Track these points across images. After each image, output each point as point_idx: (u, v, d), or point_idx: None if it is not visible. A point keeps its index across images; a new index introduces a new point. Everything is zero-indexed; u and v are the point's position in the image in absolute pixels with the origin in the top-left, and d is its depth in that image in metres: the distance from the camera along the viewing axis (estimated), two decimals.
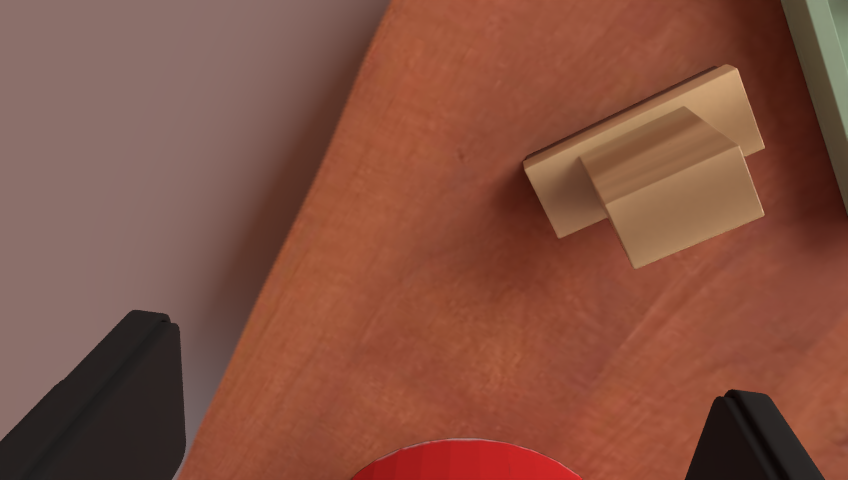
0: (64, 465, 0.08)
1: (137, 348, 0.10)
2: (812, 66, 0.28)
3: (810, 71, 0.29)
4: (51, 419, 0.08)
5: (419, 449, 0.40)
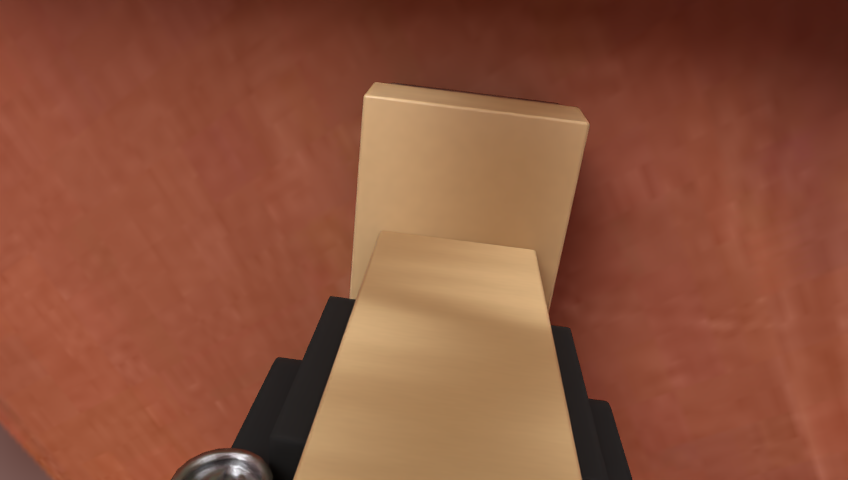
0: None
1: None
2: None
3: None
4: (312, 388, 0.09)
5: None
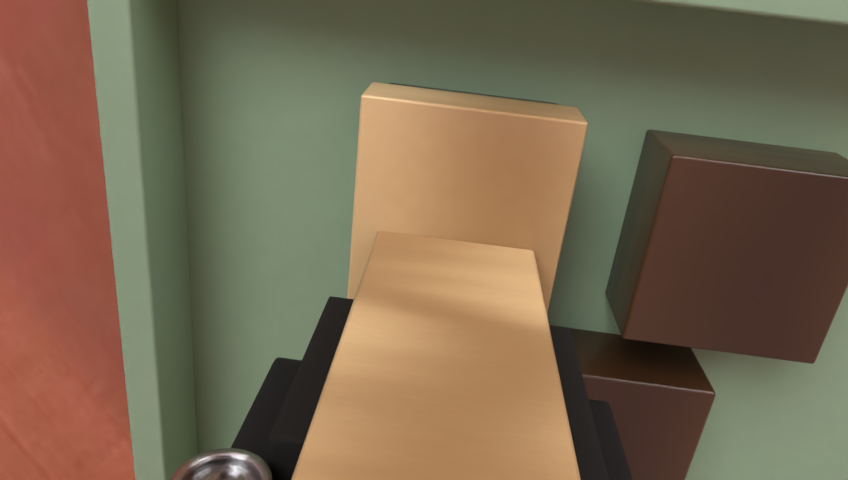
0: None
1: None
2: None
3: None
4: (311, 388, 0.09)
5: None
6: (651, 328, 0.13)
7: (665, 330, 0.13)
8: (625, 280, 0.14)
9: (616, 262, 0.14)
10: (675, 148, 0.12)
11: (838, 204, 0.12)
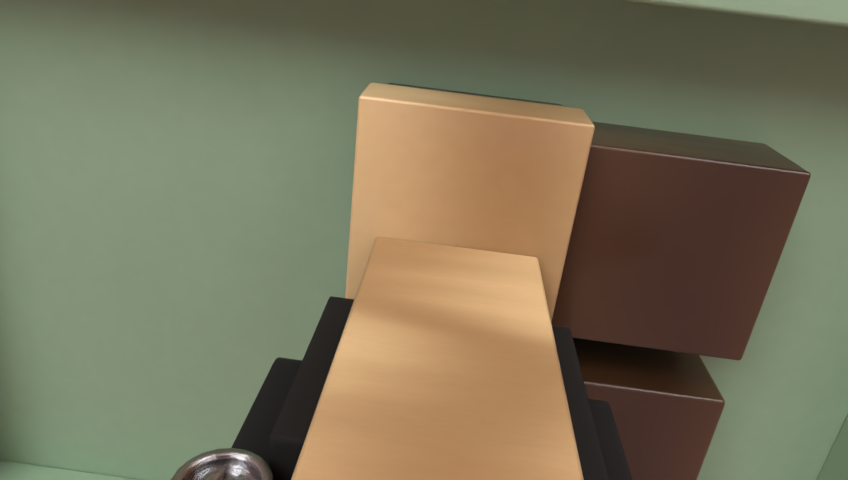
0: None
1: None
2: None
3: None
4: (312, 389, 0.09)
5: None
6: (573, 323, 0.13)
7: (588, 325, 0.13)
8: None
9: None
10: None
11: (757, 195, 0.11)
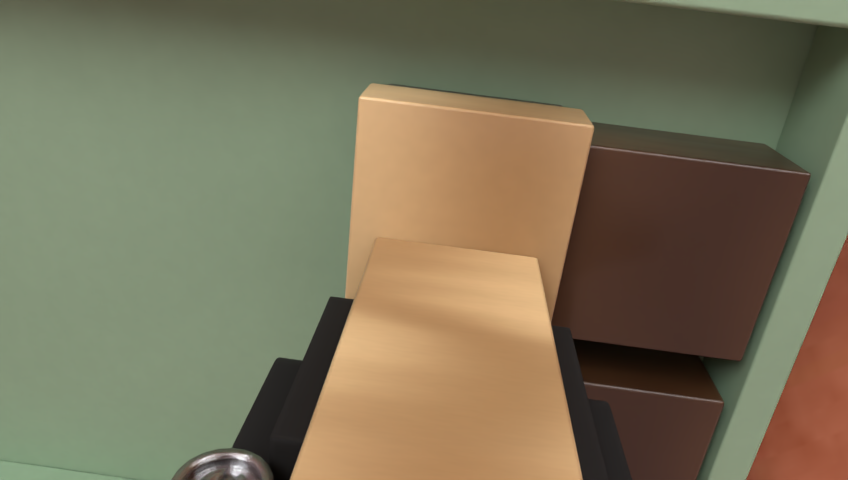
0: None
1: None
2: None
3: None
4: (312, 388, 0.09)
5: None
6: (572, 324, 0.13)
7: (587, 326, 0.13)
8: None
9: None
10: None
11: (757, 196, 0.11)
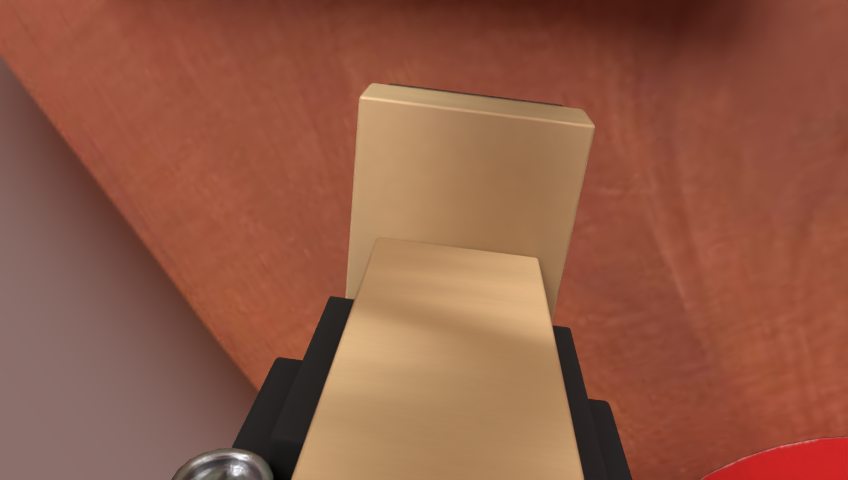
0: None
1: None
2: None
3: None
4: (312, 389, 0.09)
5: None
6: None
7: None
8: None
9: None
10: None
11: None
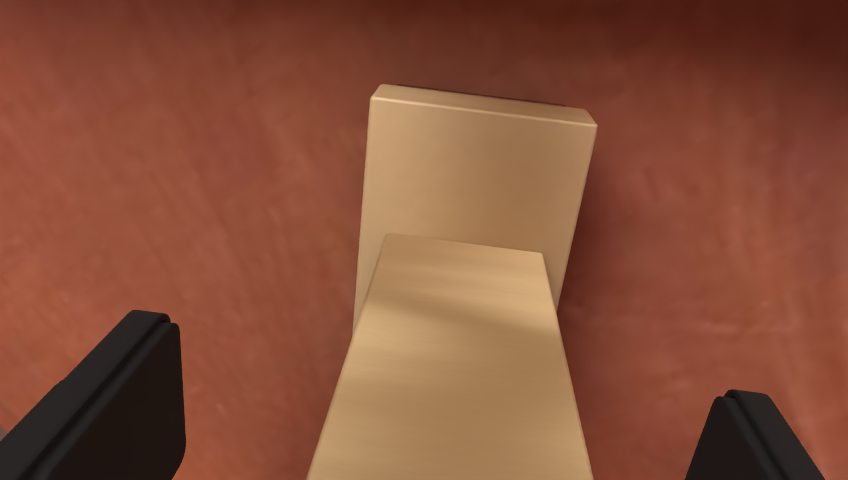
0: (64, 465, 0.08)
1: (137, 348, 0.10)
2: None
3: None
4: (51, 418, 0.08)
5: None
6: None
7: None
8: None
9: None
10: None
11: None
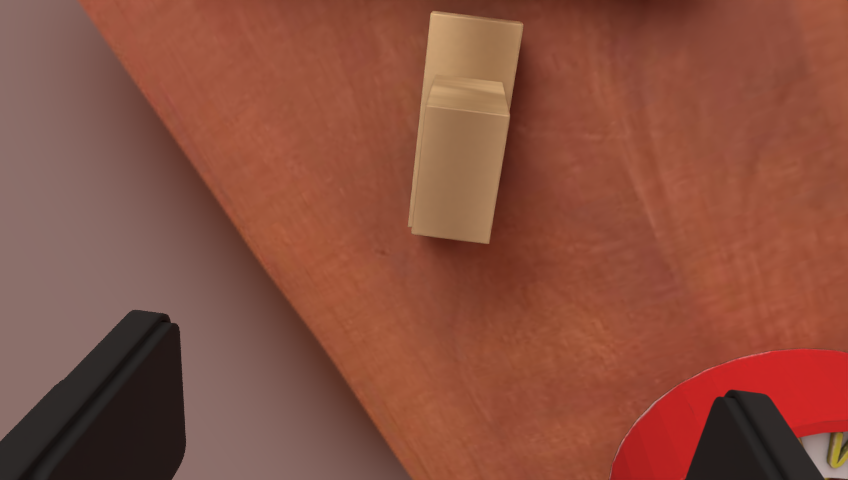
0: (64, 465, 0.08)
1: (137, 348, 0.10)
2: None
3: None
4: (51, 418, 0.08)
5: (621, 452, 0.38)
6: None
7: None
8: None
9: None
10: None
11: None
